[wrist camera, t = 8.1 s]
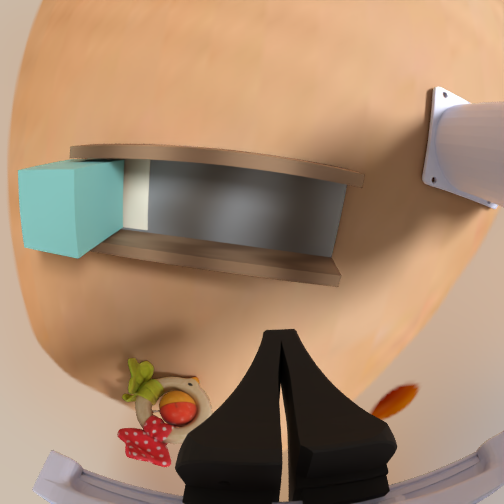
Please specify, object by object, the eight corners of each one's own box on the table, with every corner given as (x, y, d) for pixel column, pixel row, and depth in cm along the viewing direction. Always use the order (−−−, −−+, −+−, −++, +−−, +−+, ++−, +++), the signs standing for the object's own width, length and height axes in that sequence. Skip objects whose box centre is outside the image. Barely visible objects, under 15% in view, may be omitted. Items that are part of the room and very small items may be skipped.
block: (124, 159, 17) (74, 169, 12) (123, 227, 19) (78, 258, 14) (71, 159, 17) (18, 170, 12) (72, 221, 19) (24, 247, 14)
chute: (347, 169, 18) (364, 174, 15) (327, 264, 21) (338, 286, 17) (92, 144, 18) (65, 146, 15) (91, 232, 20) (67, 247, 17)
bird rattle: (196, 343, 27) (107, 351, 23) (231, 435, 17) (110, 450, 14) (198, 383, 29) (120, 392, 26) (229, 465, 19) (131, 479, 16)
